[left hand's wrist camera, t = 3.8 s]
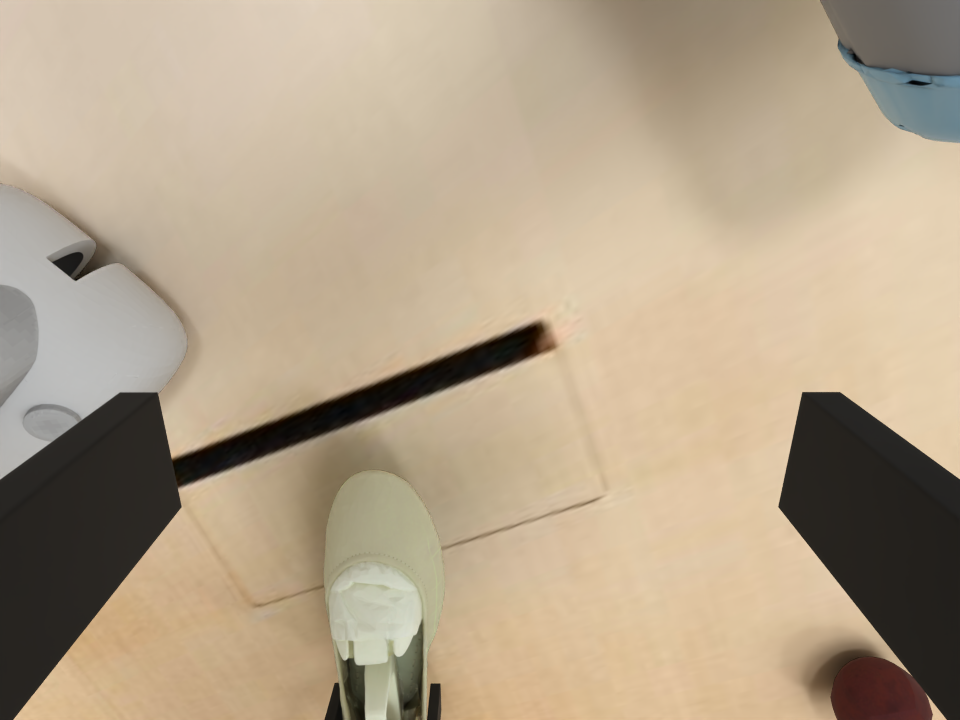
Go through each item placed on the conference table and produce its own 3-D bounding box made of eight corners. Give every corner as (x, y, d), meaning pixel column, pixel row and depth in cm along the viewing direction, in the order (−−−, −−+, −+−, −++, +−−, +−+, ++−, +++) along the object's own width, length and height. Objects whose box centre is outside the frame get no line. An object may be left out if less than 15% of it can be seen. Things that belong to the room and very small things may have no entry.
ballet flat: (441, 460, 41) (431, 530, 34) (453, 725, 49) (447, 829, 42) (320, 461, 41) (282, 532, 34) (352, 725, 49) (327, 829, 42)
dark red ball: (820, 709, 56) (865, 786, 50) (809, 649, 54) (855, 722, 47) (901, 690, 55) (958, 766, 49) (894, 629, 53) (952, 700, 46)
